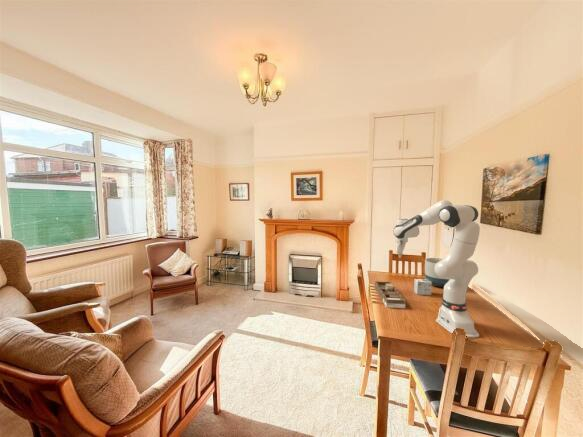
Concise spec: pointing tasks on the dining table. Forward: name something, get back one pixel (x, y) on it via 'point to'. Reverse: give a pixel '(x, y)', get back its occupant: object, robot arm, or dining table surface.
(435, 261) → the planter
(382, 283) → the trap channel
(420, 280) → the light bulb box
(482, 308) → the dining table surface
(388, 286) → the birch block
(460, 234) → the robot arm
